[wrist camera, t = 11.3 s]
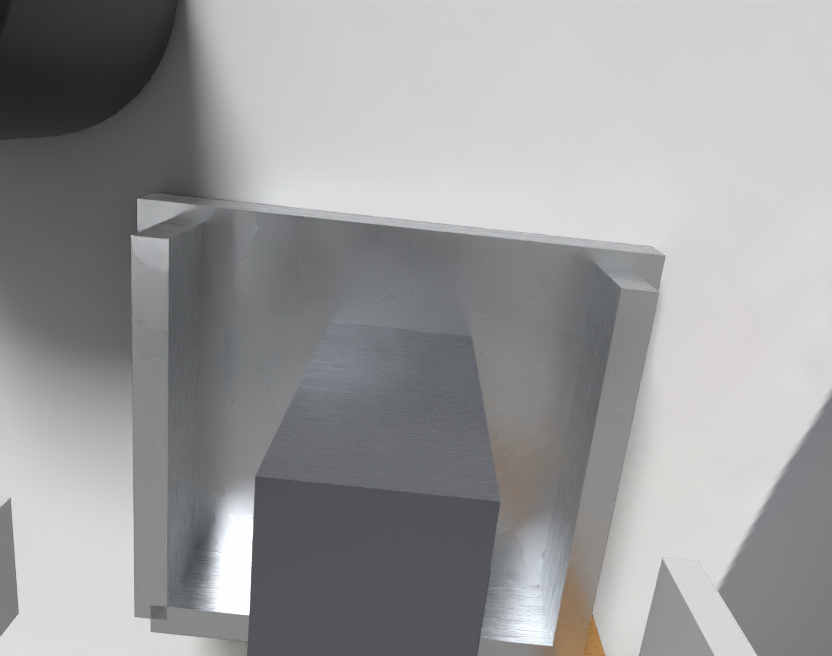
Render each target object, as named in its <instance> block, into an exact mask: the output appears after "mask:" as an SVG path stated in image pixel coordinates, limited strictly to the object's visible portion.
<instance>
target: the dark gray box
mask: <svg viewBox="0 0 832 656" xmlns="http://www.w3.org/2000/svg"><path fill="white" fill-rule="evenodd" d="M500 502H501V501H500V495H499V490H498V484H497V478H496V472H495V466H494V461H493V455H492V449H491V443H490V438H489V432H488V426H487V420H486V415H485V409H484V403H483V397H482V392H481V386H480V380H479V374H478V369H477V363H476V357H475V351H474V346H473V340H472V336H463V335H454V334H444V333H435V332H425V331H416V330H406V329H397V328H388V327H378V326H369V325H359V324H350V323H340V322H331V321H329V323H328V325H327V327H326V329H325V331H324V334H323V336H322V338H321V340H320V342H319V344H318V346H317V348H316V350H315V352H314V354H313V357H312V359H311V361H310V363H309V365H308V367H307V369H306V371H305V373H304V375H303V377H302V380H301V382H300V384H299V386H298V388H297V390H296V392H295V394H294V396H293V398H292V400H291V403H290V405H289V407H288V409H287V411H286V413H285V415H284V417H283V419H282V421H281V423H280V425H279V428H278V430H277V432H276V434H275V436H274V438H273V440H272V442H271V444H270V446H269V448H268V451H267V453H266V455H265V457H264V459H263V461H262V463H261V465H260V467H259V469H258V471H257V474H256V476H255V492H254V515H253V538H252V561H251V583H250V606H249V629H248V652H247V656H477V655H478V648H479V642H480V635H481V629H482V623H483V616H484V610H485V603H486V597H487V591H488V584H489V578H490V571H491V567H490V566H491V560H492V554H493V547H494V541H495V534H496V528H497V522H498V515H499V509H500Z"/></svg>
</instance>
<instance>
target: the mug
mask: <svg viewBox="0 0 832 656" xmlns="http://www.w3.org/2000/svg"><path fill="white" fill-rule="evenodd" d="M176 5H177V0H0V140H5V139H18V138H31V137H44V136H57V135H61V134H66V133H71V132H76V131H79V130H82V129H85V128H88V127H90V126H93V125H95V124H98V123H100V122H102V121H103V120H105V119H107V118H108V117H110V116H112V115H113V114H115V113H116V112H118V111H119V110H120V109H122V108H123V107H124V106H125V105H126V104H127V103H129V102H130V101H131V100H132V99H133V98H134V97H135V96H136V95H137V94H138V93H139V92H140V91H141V89H142V88H143V87H144V85H145V84H146V83H147V82H148V80H149V79H150V77H151V76H152V74H153V73H154V71H155V69H156V68H157V66H158V64H159V62H160V60H161V58H162V56H163V54H164V52H165V49H166V46H167V43H168V40H169V37H170V34H171V31H172V27H173V22H174V16H175V11H176Z"/></svg>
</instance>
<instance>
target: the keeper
mask: <svg viewBox="0 0 832 656" xmlns="http://www.w3.org/2000/svg"><path fill="white" fill-rule="evenodd" d="M664 261H665V255H664V254H662V253H661V252H659V251H657V250H656V249H654V248H653V247H651V246H642V245H632V244H623V243H614V242H605V241H595V240H586V239H577V238H568V237H559V236H549V235H540V234H531V233H522V232H512V231H503V230H494V229H485V228H476V227H466V226H457V225H448V224H439V223H429V222H420V221H411V220H402V219H393V218H383V217H374V216H365V215H356V214H346V213H337V212H328V211H319V210H310V209H300V208H291V207H282V206H273V205H263V204H254V203H245V202H236V201H226V200H217V199H208V198H199V197H190V196H180V195H171V194H162V193H153V194H150V195H147V196H143V197H140V198H137V233H135V234H133V235H131V294H132V397H133V500H134V604H135V617H140V618H150V619H151V632H157V633H166V634H176V635H186V636H196V637H206V638H215V639H225V640H235V641H245V642H248V629H249V606H250V583H251V561H252V538H253V515H254V492H255V476H256V474H257V471H258V469H259V467H260V465H261V463H262V461H263V459H264V457H265V455H266V453H267V451H268V448H269V446H270V444H271V442H272V440H273V438H274V436H275V434H276V432H277V430H278V428H279V425H280V423H281V421H282V419H283V417H284V415H285V413H286V411H287V409H288V407H289V405H290V403H291V400H292V398H293V396H294V394H295V392H296V390H297V388H298V386H299V384H300V382H301V380H302V377H303V375H304V373H305V371H306V369H307V367H308V365H309V363H310V361H311V359H312V357H313V354H314V352H315V350H316V348H317V346H318V344H319V342H320V340H321V338H322V336H323V334H324V331H325V329H326V327H327V325H328V323H329V321H331V322H340V323H350V324H359V325H369V326H378V327H388V328H397V329H406V330H416V331H425V332H435V333H444V334H454V335H463V336H472V340H473V346H474V351H475V357H476V363H477V369H478V374H479V380H480V386H481V392H482V397H483V403H484V409H485V415H486V420H487V426H488V432H489V438H490V443H491V449H492V455H493V461H494V466H495V472H496V478H497V484H498V490H499V495H500V501H501V502H500V509H499V515H498V522H497V528H496V534H495V541H494V547H493V554H492V560H491V566H490V567H491V571H490V578H489V584H488V591H487V597H486V603H485V610H484V616H483V623H482V629H481V635H480V642H479V648H478V655H477V656H605V653H604V650H603V647H602V644H601V641H600V637H599V634H598V631H597V628H596V625H595V622H594V618H593V615H592V610H593V605H594V601H595V596H596V591H597V586H598V582H599V577H600V572H601V567H602V562H603V558H604V553H605V548H606V543H607V539H608V534H609V529H610V524H611V519H612V515H613V510H614V505H615V500H616V496H617V491H618V486H619V481H620V476H621V472H622V467H623V462H624V457H625V453H626V448H627V443H628V438H629V433H630V429H631V424H632V419H633V414H634V410H635V405H636V400H637V395H638V390H639V386H640V381H641V376H642V371H643V367H644V362H645V357H646V352H647V347H648V343H649V338H650V333H651V328H652V324H653V319H654V314H655V309H656V304H657V300H658V295H659V292H658V289H659V285H660V280H661V275H662V270H663V265H664Z"/></svg>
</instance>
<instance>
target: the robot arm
mask: <svg viewBox="0 0 832 656" xmlns="http://www.w3.org/2000/svg"><path fill="white" fill-rule="evenodd" d="M18 613H19V612H18V598H17V583H16V569H15V554H14V540H13V526H12V511H11V497H2V496H0V636H1V635H2V634H3V632H4V631H5V630H6V629H7V627H8V626H9V625H10V623H11V622H12V621H13V620H14V618H15V617H16V616H17V614H18ZM639 656H757V655H756V654H755V652H754V650H753V649H752V647H751V645H750V643H749V642H748V640H747V639H746V637H745V635H744V634H743V632H742V630H741V629H740V627H739V626H738V624H737V623H736V621H735V619H734V617H733V616H732V614H731V612H730V611H729V609H728V607H727V606H726V604H725V603H724V601H723V599H722V598H721V596H720V594H719V593H718V591H717V589H716V588H715V586H714V584H713V583H712V581H711V580H710V578H709V576H708V575H707V573H706V571H705V570H704V568H703V566H702V565H701V563H700V562H699V561H689V560H678V559H668V558H662V562H661V566H660V570H659V574H658V579H657V583H656V587H655V591H654V595H653V599H652V604H651V608H650V612H649V616H648V620H647V624H646V629H645V633H644V637H643V641H642V645H641V649H640V654H639Z"/></svg>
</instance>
